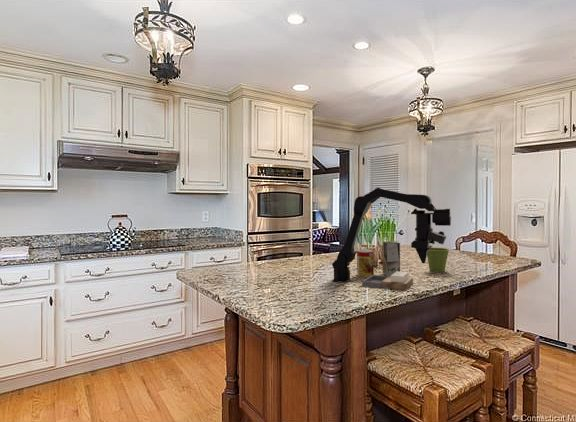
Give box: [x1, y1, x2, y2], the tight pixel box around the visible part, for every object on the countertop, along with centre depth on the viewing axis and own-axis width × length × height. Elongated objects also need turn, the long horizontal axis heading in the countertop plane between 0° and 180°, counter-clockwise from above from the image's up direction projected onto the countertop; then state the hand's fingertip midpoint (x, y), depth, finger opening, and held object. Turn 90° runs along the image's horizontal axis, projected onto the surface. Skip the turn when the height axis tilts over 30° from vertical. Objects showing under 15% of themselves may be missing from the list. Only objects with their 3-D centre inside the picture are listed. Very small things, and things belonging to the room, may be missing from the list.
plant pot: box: [426, 247, 451, 273], centre depth 185 cm, size 12×12×11 cm
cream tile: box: [391, 271, 409, 283], centre depth 154 cm, size 5×10×2 cm, turn 149°
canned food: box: [356, 249, 375, 278], centre depth 177 cm, size 8×8×12 cm
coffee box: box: [382, 240, 401, 276], centre depth 176 cm, size 9×6×16 cm
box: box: [361, 274, 389, 289], centre depth 160 cm, size 8×15×2 cm, turn 149°
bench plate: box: [381, 276, 414, 291], centre depth 155 cm, size 10×13×2 cm
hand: (423, 263), depth 149 cm, fingers closed
